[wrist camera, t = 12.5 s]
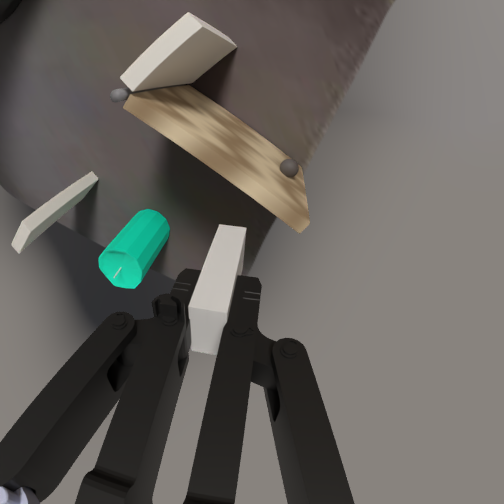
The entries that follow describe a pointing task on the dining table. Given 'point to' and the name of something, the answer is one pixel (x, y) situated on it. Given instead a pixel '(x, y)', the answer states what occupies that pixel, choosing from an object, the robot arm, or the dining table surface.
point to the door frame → (139, 80)
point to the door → (227, 148)
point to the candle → (134, 249)
